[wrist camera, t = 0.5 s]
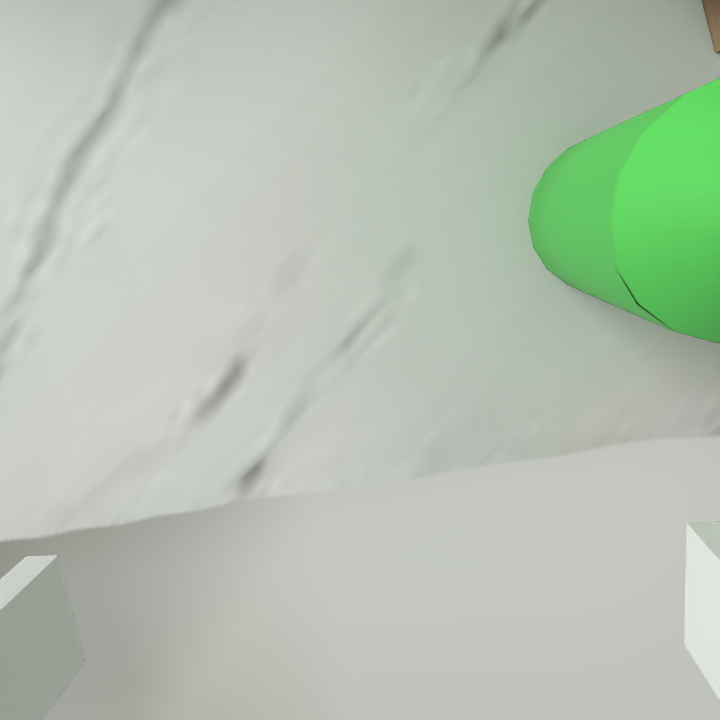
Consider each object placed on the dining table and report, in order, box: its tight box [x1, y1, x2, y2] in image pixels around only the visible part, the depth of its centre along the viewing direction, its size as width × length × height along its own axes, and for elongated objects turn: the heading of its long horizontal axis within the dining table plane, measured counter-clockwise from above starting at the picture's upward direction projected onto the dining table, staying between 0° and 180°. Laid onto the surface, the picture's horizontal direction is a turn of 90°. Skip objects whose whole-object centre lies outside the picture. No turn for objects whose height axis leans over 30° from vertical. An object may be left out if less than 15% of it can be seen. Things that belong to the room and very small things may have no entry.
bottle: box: [528, 78, 720, 343], centre depth 22 cm, size 9×9×25 cm
